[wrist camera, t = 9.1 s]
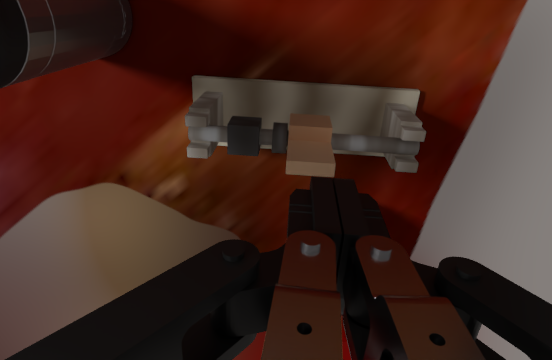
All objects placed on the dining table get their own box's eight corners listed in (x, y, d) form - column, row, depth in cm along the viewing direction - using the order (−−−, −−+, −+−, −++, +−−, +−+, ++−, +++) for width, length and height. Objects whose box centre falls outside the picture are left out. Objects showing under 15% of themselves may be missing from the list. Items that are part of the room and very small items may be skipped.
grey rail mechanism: (197, 140, 46) (173, 173, 37) (194, 75, 42) (167, 94, 34) (403, 154, 45) (427, 191, 37) (417, 89, 42) (448, 112, 33)
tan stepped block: (287, 149, 39) (284, 188, 31) (290, 113, 38) (287, 144, 29) (325, 152, 39) (331, 192, 31) (329, 115, 37) (337, 148, 29)
